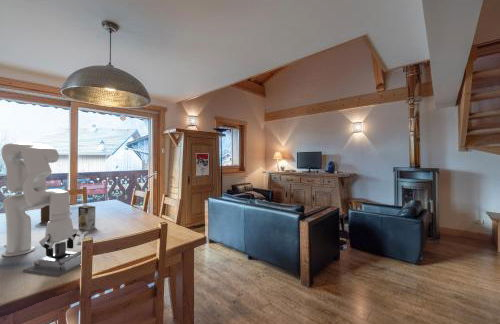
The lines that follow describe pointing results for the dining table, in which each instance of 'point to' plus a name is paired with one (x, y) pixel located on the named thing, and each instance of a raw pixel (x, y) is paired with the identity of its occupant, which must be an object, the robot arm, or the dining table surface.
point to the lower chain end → (46, 266)
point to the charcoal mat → (47, 271)
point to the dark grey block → (60, 250)
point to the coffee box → (86, 217)
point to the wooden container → (45, 214)
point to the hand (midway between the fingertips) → (60, 252)
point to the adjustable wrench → (81, 236)
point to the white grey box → (63, 260)
